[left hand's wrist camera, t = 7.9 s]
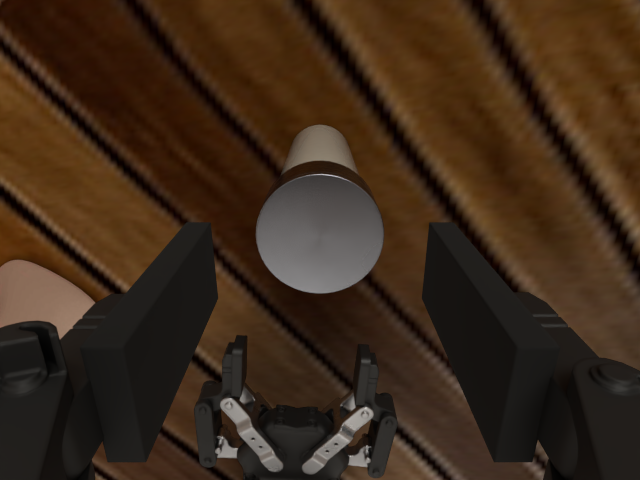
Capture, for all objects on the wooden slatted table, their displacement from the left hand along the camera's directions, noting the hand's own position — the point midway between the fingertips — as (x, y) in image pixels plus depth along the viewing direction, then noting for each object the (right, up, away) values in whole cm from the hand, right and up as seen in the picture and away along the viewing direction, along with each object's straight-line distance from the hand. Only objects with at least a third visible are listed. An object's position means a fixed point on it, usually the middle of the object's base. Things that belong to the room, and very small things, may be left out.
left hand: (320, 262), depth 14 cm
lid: (0, +1, +2) cm, 3 cm away
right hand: (-1, -7, +15) cm, 17 cm away
